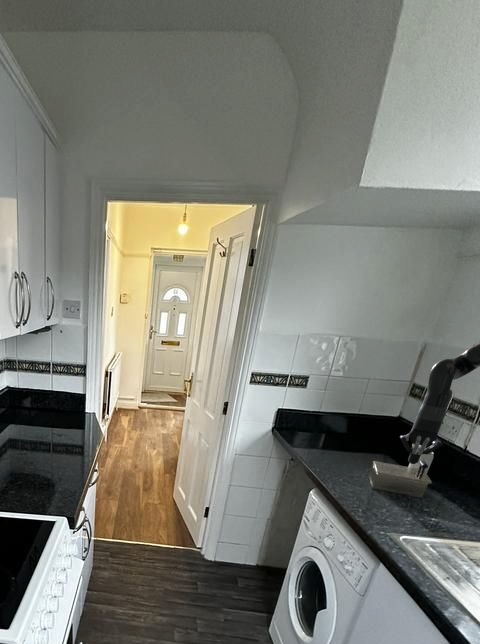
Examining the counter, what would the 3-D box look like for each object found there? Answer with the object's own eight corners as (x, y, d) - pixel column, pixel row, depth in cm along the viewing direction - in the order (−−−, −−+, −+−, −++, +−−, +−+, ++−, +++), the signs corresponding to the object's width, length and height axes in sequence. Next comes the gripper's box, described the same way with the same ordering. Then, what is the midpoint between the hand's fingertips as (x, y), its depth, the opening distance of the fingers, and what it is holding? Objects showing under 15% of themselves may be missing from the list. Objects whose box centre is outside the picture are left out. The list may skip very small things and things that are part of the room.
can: (407, 474, 174) (418, 447, 169) (425, 479, 169) (437, 452, 164) (402, 477, 170) (413, 450, 165) (420, 483, 166) (432, 455, 160)
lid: (422, 471, 161) (428, 458, 158) (431, 484, 149) (437, 469, 147) (372, 462, 167) (377, 449, 165) (376, 474, 156) (381, 460, 153)
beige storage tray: (414, 485, 163) (420, 471, 161) (422, 498, 152) (428, 483, 149) (368, 476, 170) (372, 462, 167) (371, 488, 158) (376, 474, 156)
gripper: (409, 416, 144) (392, 462, 151) (456, 423, 139) (436, 470, 146) (405, 412, 151) (389, 456, 158) (450, 418, 146) (431, 463, 153)
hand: (412, 463), depth 152 cm, fingers closed
